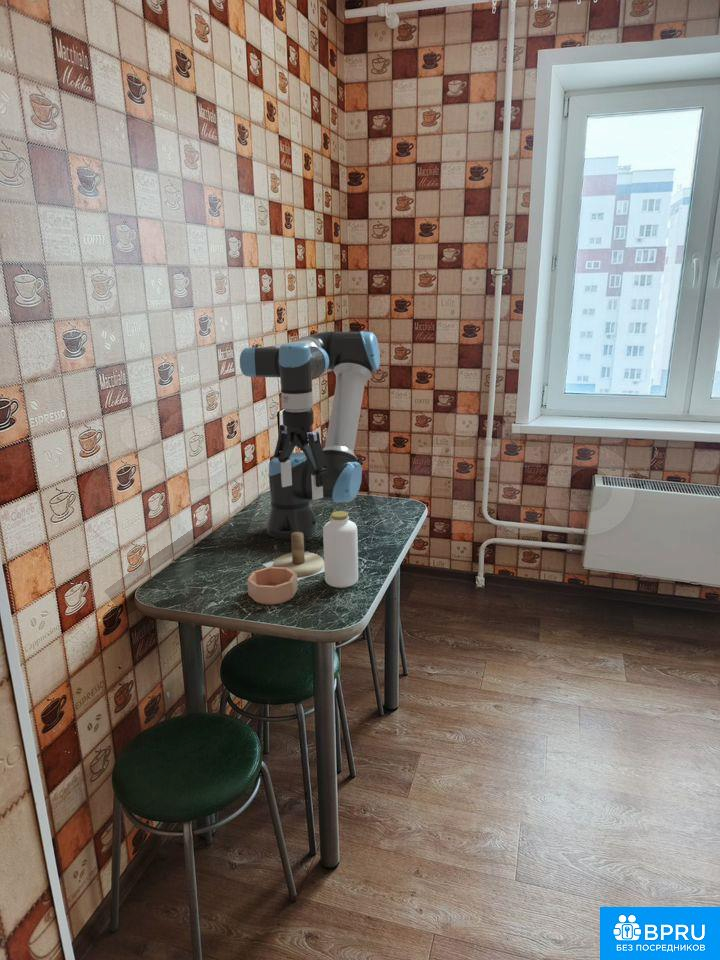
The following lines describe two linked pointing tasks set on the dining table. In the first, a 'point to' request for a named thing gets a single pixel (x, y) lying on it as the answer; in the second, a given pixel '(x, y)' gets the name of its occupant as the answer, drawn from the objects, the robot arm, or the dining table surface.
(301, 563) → the lid
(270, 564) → the mat
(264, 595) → the bowl
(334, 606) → the dining table surface
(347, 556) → the white bottle
